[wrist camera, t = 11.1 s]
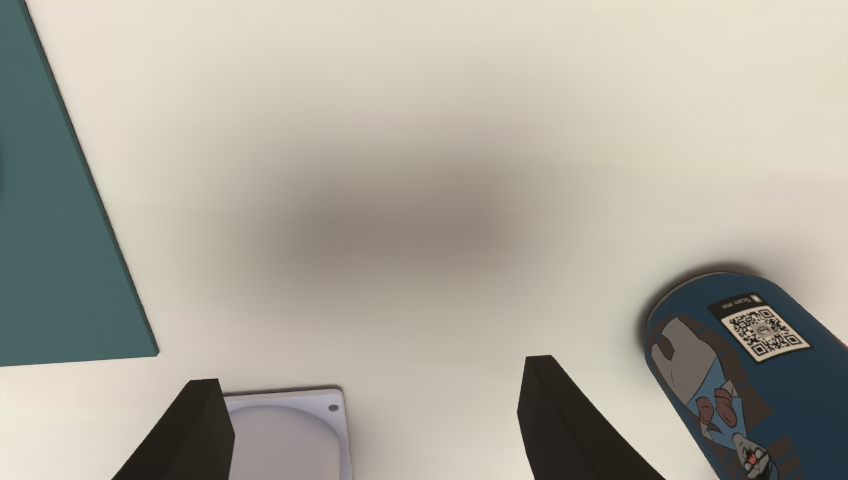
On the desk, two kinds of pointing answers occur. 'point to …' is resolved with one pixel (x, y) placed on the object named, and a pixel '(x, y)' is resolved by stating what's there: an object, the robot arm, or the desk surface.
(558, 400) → the robot arm
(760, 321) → the soda can
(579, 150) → the desk surface
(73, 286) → the mouse pad
